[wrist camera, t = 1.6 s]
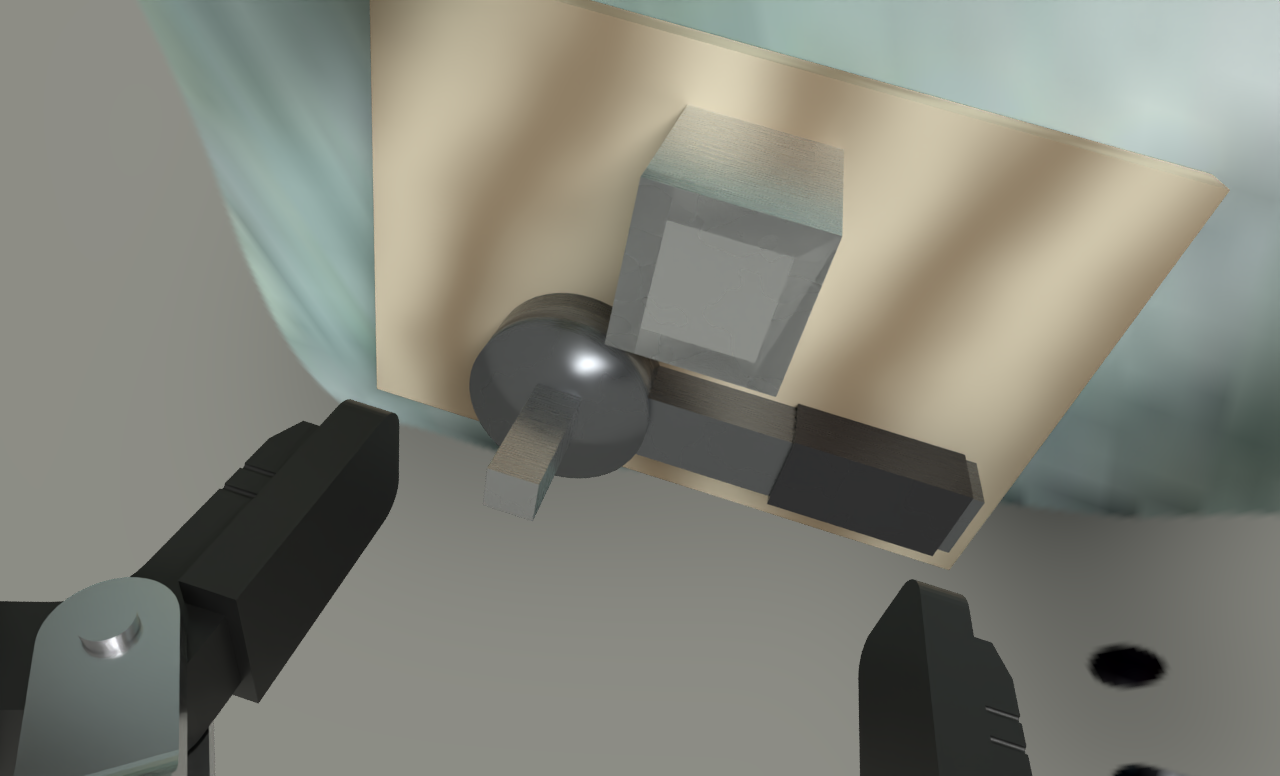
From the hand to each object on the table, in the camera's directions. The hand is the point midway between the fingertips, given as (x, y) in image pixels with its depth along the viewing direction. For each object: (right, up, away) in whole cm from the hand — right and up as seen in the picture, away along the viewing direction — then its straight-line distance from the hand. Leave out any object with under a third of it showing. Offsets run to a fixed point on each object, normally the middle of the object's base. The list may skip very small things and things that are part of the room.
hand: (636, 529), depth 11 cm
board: (+3, +5, +14) cm, 16 cm away
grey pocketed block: (+3, +8, +11) cm, 14 cm away
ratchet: (+3, +1, +16) cm, 16 cm away
